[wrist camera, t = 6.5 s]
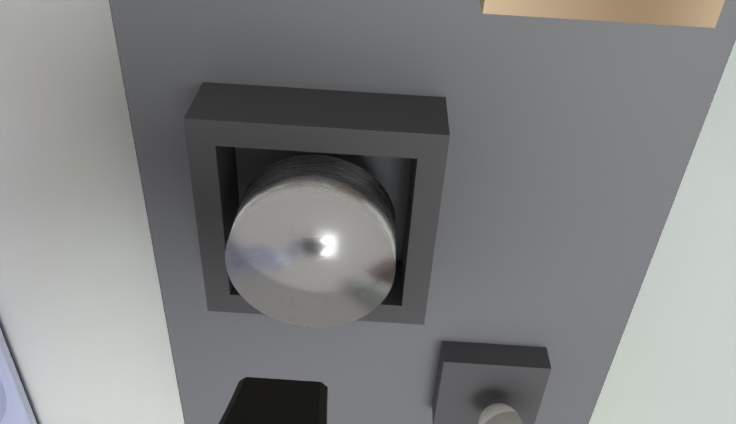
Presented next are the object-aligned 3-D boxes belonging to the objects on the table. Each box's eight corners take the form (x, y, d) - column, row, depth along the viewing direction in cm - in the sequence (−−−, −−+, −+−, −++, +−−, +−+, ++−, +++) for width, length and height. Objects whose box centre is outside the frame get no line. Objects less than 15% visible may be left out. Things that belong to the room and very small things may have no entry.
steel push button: (244, 275, 17) (231, 322, 15) (234, 149, 15) (218, 191, 13) (390, 284, 17) (389, 332, 15) (402, 159, 15) (401, 203, 13)
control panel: (198, 402, 24) (173, 484, 22) (76, -378, 12) (-16, -405, 9) (564, 426, 24) (583, 511, 21) (830, -333, 12) (952, -348, 9)
